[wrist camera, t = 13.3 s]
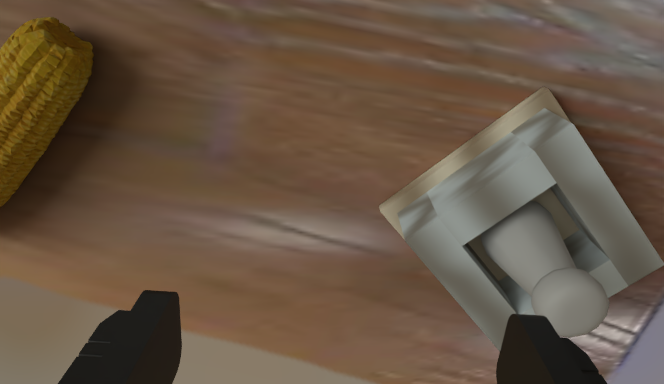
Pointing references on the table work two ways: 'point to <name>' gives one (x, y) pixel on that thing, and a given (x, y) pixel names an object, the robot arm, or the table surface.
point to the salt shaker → (546, 270)
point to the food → (37, 93)
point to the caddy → (507, 196)
